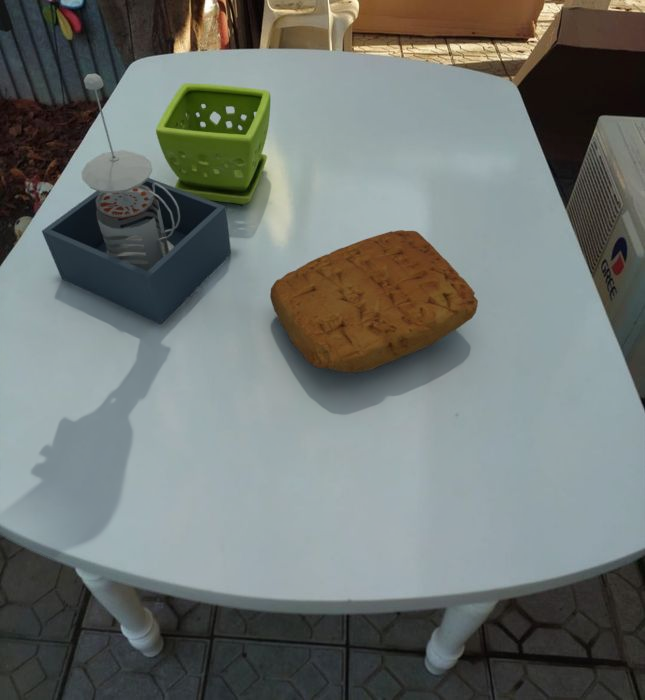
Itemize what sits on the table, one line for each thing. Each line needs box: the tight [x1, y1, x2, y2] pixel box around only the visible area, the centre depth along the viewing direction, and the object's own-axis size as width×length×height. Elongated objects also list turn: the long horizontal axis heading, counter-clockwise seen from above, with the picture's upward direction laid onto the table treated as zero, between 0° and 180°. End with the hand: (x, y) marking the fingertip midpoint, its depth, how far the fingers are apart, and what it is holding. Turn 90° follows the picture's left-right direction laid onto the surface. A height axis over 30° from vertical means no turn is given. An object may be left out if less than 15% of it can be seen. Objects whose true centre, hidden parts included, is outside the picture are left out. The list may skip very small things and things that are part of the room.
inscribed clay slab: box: [269, 229, 479, 374], centre depth 71 cm, size 22×17×8 cm
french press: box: [81, 73, 180, 271], centre depth 70 cm, size 10×12×25 cm
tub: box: [41, 177, 232, 325], centre depth 77 cm, size 17×16×8 cm
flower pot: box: [155, 82, 271, 206], centre depth 88 cm, size 14×14×13 cm
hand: (59, 0), depth 51 cm, fingers open, 13 cm apart
